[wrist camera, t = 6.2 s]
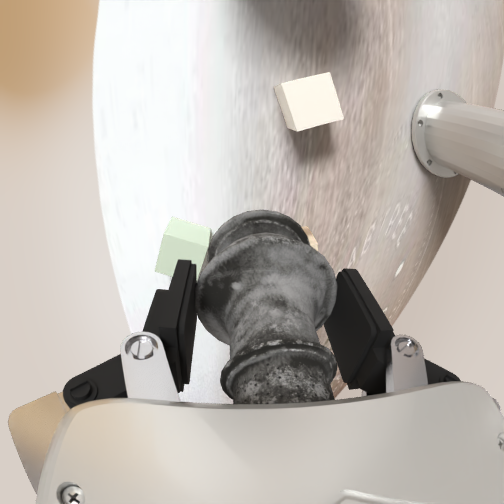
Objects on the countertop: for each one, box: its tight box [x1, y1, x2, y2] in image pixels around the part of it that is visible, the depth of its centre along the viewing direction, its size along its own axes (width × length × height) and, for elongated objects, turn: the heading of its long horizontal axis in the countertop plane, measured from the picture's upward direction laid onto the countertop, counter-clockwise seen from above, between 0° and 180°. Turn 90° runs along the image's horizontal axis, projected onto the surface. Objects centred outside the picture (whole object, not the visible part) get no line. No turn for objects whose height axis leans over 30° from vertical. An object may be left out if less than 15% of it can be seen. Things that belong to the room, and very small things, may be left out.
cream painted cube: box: [274, 72, 344, 132], centre depth 26 cm, size 5×5×5 cm
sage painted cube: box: [155, 217, 211, 279], centre depth 34 cm, size 5×5×5 cm
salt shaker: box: [195, 210, 337, 404], centre depth 9 cm, size 6×6×12 cm
